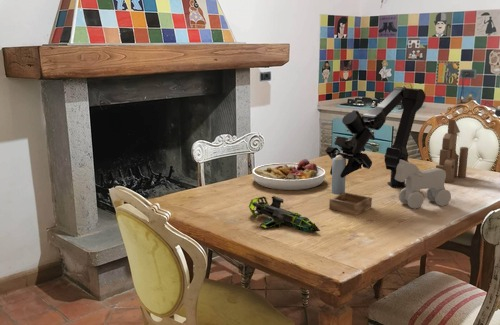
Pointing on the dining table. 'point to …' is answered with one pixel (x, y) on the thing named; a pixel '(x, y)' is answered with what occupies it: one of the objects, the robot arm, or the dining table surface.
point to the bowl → (289, 175)
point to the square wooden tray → (350, 203)
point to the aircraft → (280, 215)
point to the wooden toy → (452, 154)
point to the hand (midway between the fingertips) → (335, 175)
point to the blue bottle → (338, 175)
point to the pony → (421, 185)
